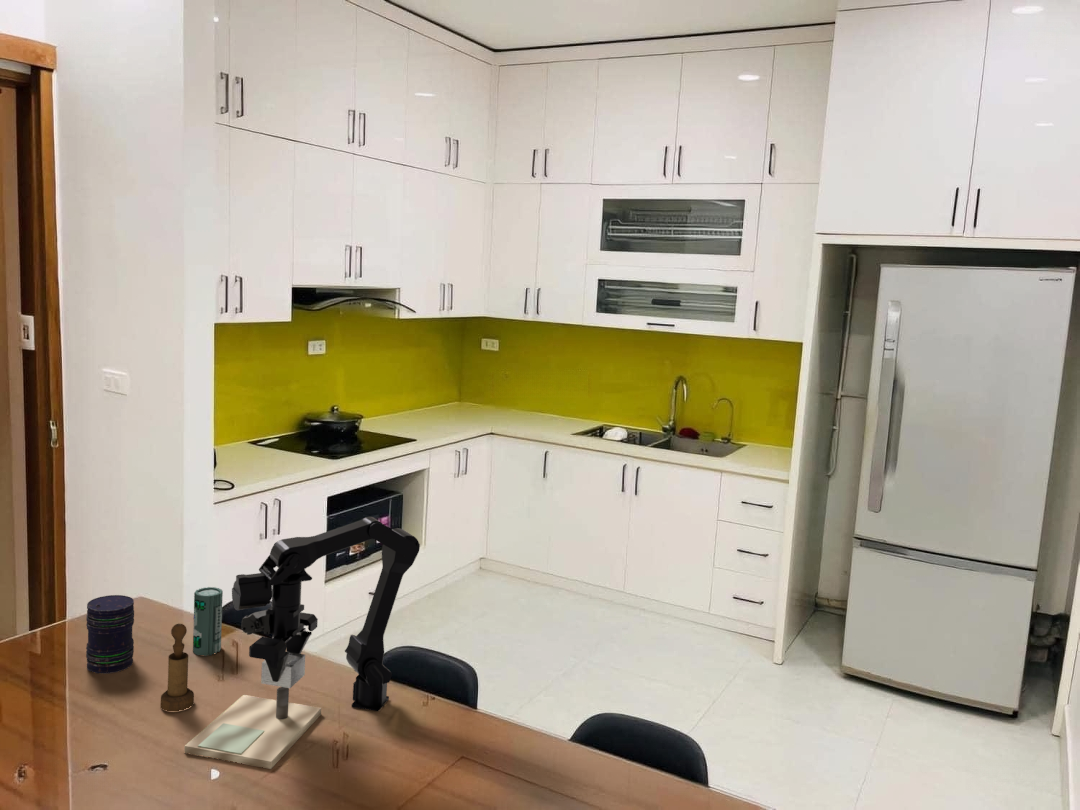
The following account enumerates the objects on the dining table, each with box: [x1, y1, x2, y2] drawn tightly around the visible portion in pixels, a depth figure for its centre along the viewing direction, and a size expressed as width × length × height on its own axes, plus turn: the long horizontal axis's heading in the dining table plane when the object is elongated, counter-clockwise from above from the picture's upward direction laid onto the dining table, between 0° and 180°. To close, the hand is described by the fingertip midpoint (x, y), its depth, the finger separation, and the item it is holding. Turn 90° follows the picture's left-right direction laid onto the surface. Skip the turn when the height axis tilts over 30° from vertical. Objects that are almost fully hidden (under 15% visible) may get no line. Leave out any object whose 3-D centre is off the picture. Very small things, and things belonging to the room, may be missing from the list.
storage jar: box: [85, 594, 135, 675], centre depth 199 cm, size 10×10×15 cm
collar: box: [260, 652, 306, 689], centre depth 178 cm, size 6×6×4 cm
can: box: [192, 586, 224, 657], centre depth 210 cm, size 6×6×15 cm
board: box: [183, 686, 322, 770], centre depth 175 cm, size 18×22×8 cm
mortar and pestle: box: [160, 623, 195, 711], centre depth 182 cm, size 7×6×18 cm
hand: (283, 674), depth 178 cm, fingers closed on collar, 6 cm apart
